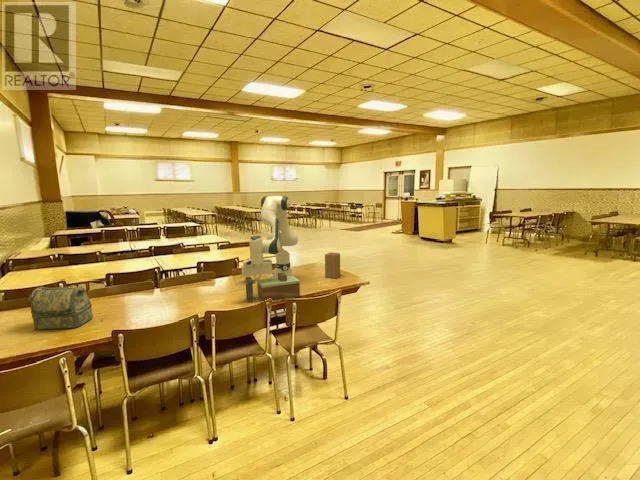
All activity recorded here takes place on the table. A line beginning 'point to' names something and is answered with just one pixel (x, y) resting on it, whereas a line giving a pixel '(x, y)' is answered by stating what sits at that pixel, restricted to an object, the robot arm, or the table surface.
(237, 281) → the bolt
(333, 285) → the table surface
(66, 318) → the lunch bag
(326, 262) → the wooden block
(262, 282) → the lid
